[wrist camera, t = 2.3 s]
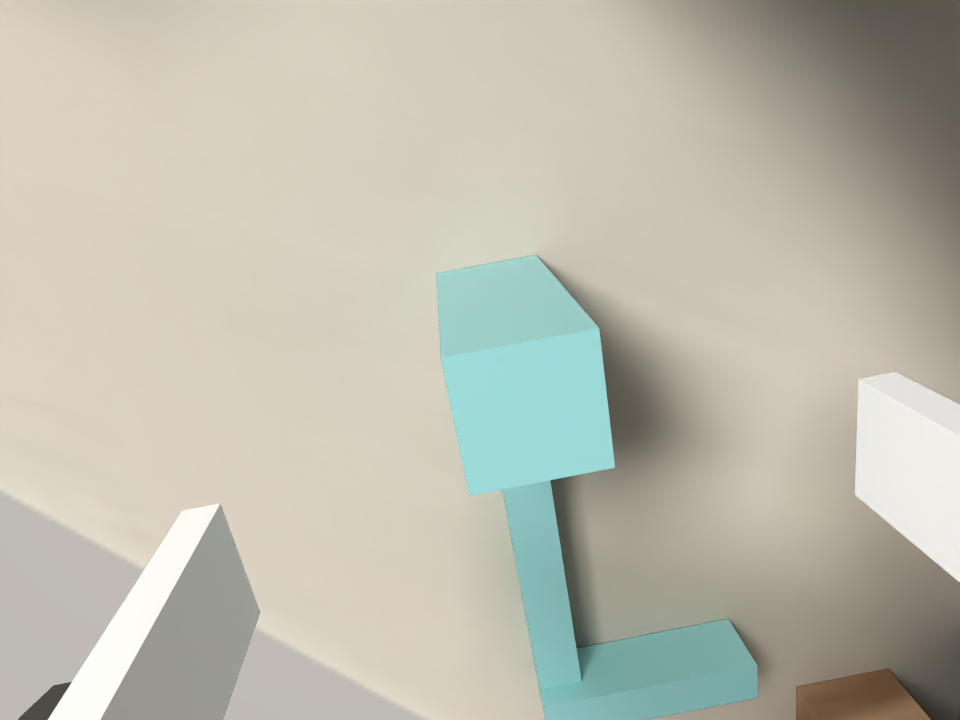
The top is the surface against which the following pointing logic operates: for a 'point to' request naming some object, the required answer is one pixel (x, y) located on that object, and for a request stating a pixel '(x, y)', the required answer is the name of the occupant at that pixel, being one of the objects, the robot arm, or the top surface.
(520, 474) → the teal cube-topped l-bracket
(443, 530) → the top surface
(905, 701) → the block
